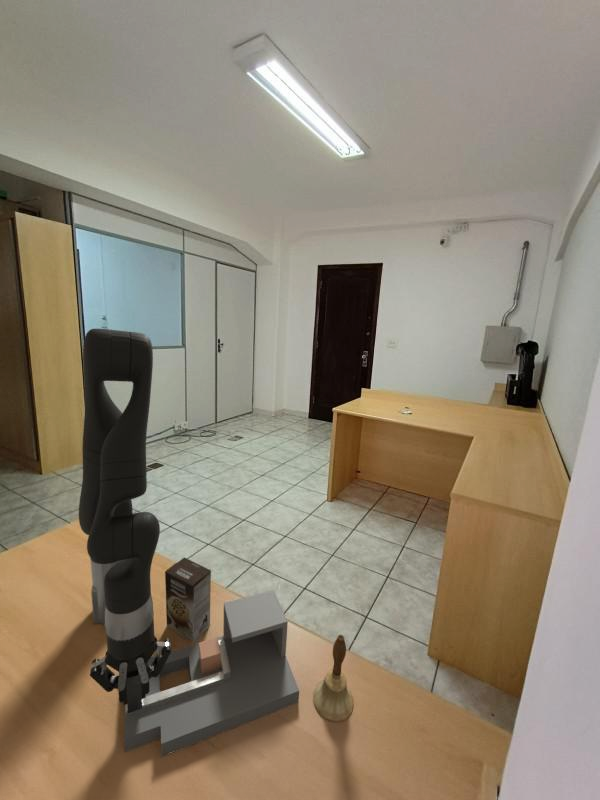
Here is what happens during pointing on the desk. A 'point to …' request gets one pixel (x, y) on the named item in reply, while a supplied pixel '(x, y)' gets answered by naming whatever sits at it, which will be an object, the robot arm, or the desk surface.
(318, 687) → the hand bell
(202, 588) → the coffee box
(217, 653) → the block
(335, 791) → the desk surface
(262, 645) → the cubby
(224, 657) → the grey bar handle
